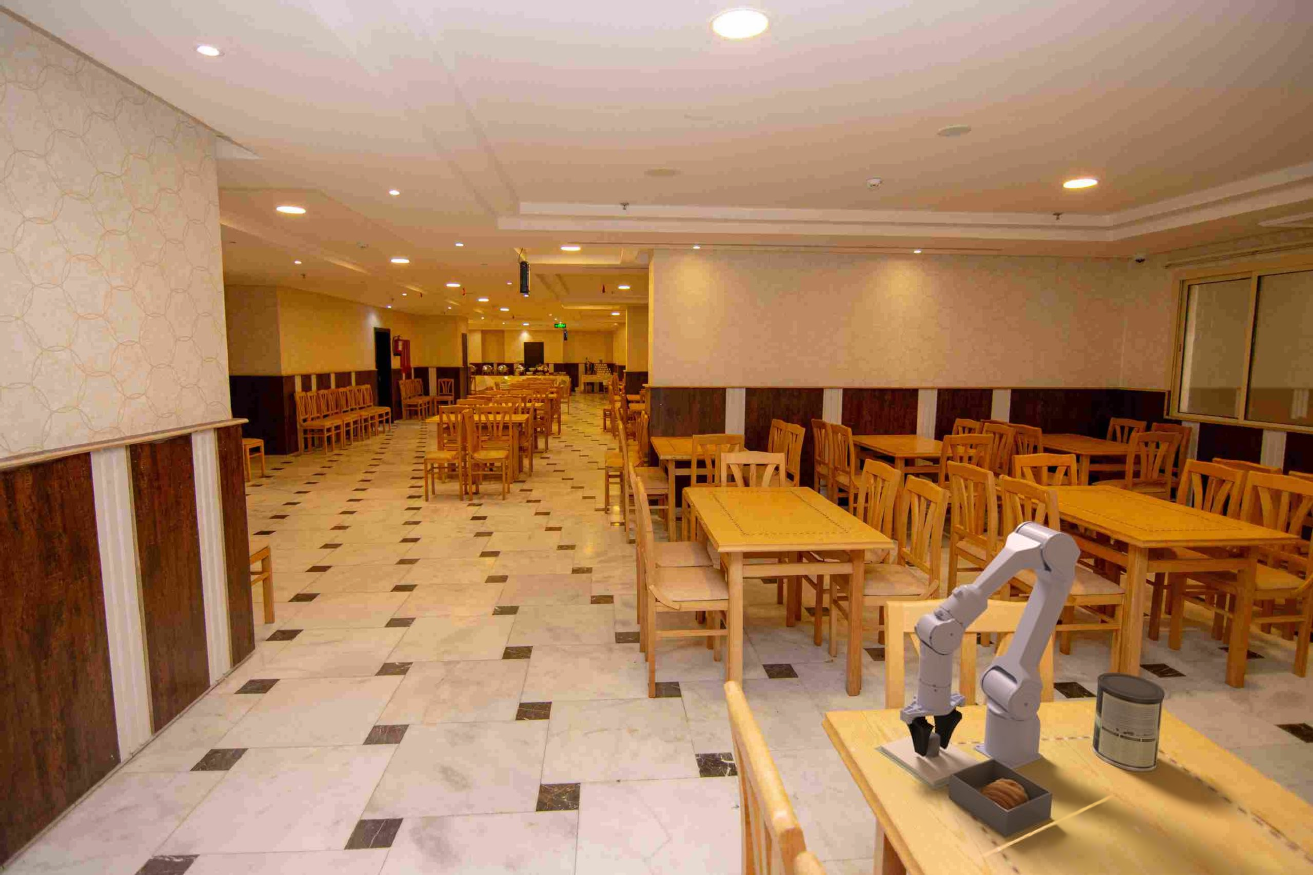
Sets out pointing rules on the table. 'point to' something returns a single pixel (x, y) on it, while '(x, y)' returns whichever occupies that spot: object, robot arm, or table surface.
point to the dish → (990, 811)
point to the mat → (913, 772)
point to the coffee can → (1127, 721)
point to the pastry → (1006, 793)
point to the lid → (930, 758)
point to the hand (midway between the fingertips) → (930, 749)
